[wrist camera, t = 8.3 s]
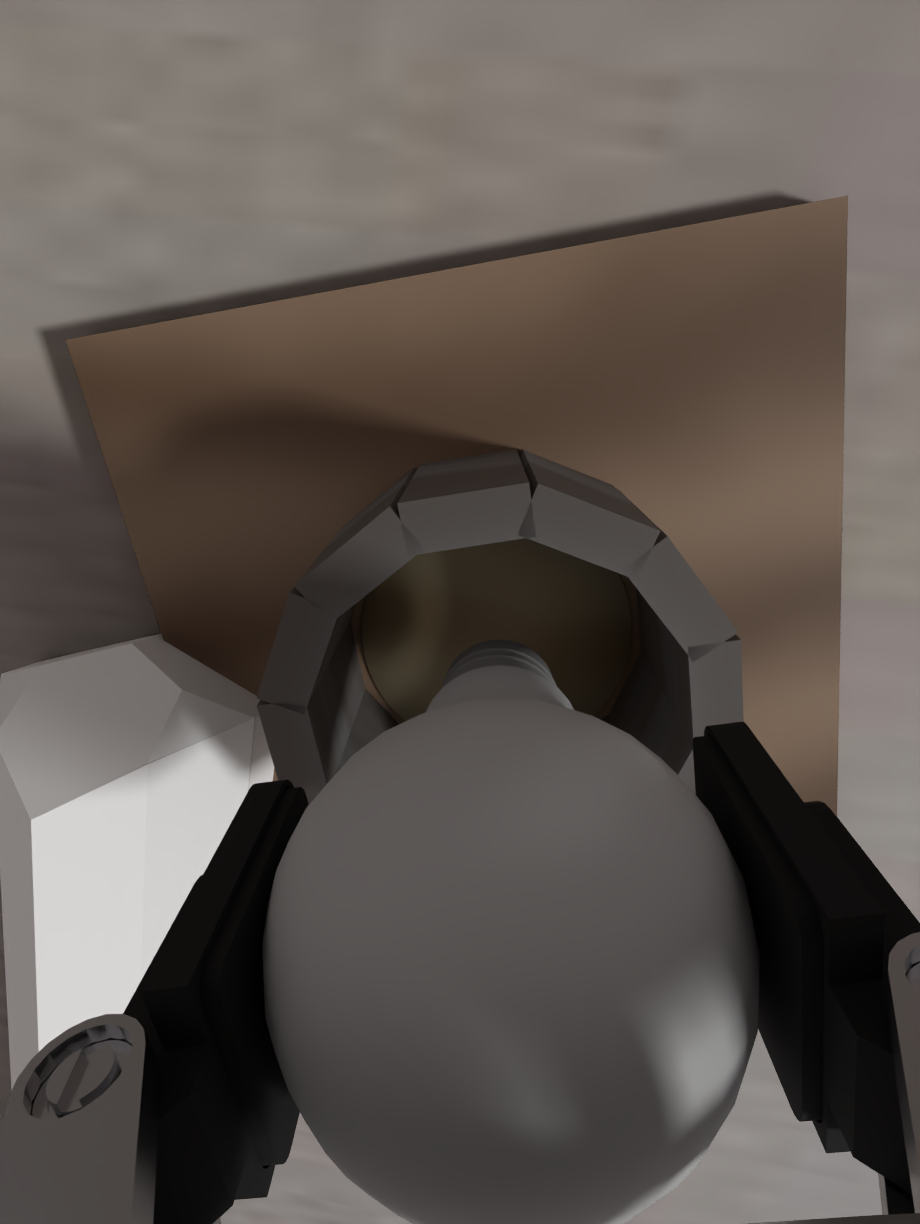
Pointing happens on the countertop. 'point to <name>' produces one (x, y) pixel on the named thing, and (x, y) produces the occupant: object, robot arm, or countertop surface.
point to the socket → (507, 488)
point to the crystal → (109, 820)
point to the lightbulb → (510, 961)
